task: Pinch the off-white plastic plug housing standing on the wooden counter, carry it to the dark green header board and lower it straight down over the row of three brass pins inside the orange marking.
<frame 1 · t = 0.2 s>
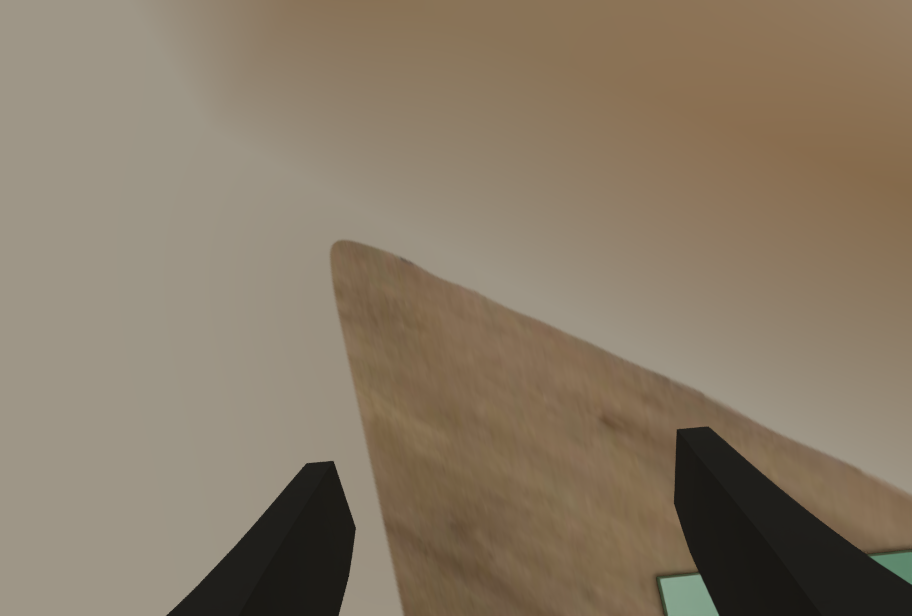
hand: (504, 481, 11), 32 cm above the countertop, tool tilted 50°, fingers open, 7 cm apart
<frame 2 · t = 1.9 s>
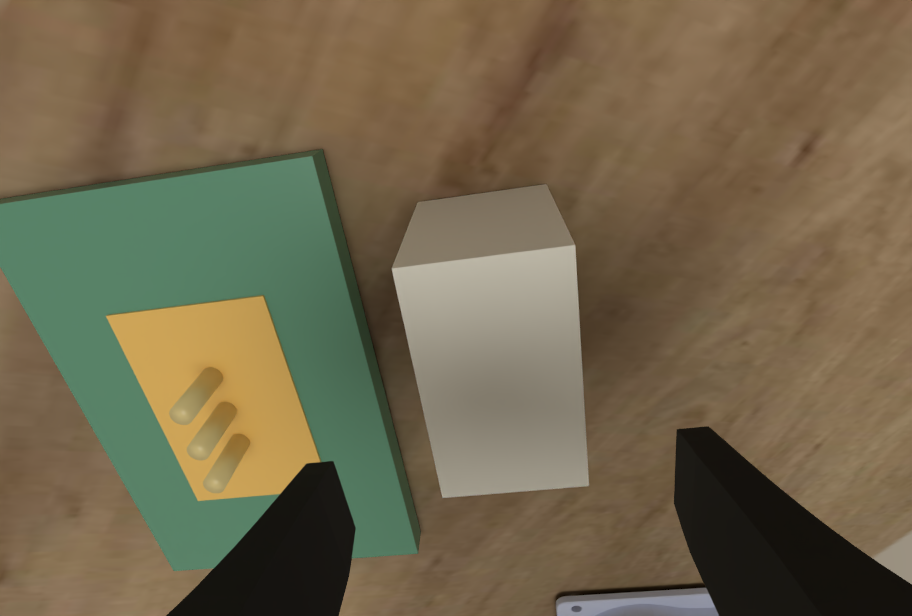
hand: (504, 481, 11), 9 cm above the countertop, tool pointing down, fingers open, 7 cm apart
plug housing: (494, 293, 20), on the countertop
header board: (240, 390, 22), on the countertop
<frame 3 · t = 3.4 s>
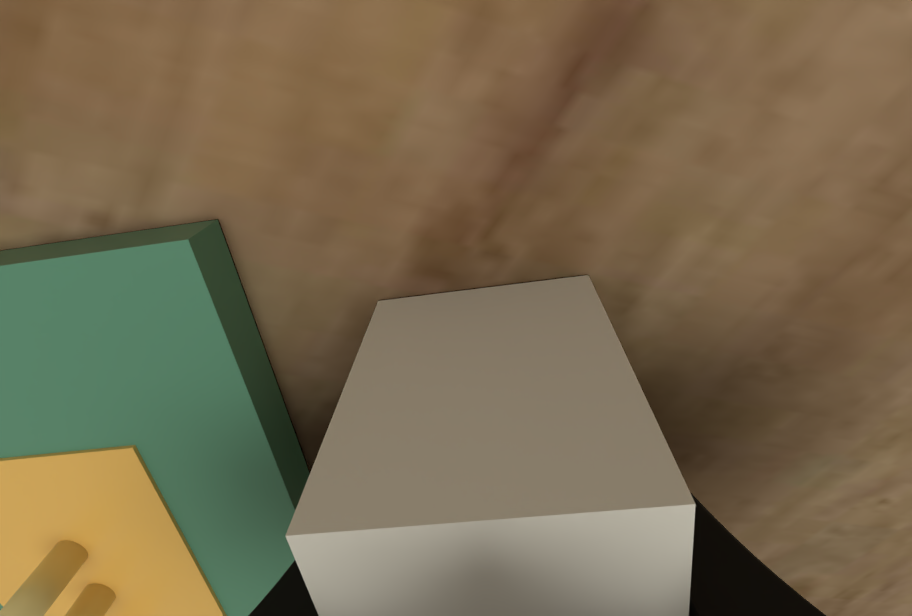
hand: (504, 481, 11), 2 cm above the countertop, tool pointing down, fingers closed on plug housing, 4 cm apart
plug housing: (502, 431, 13), on the countertop, touching gripper
header board: (129, 551, 15), on the countertop
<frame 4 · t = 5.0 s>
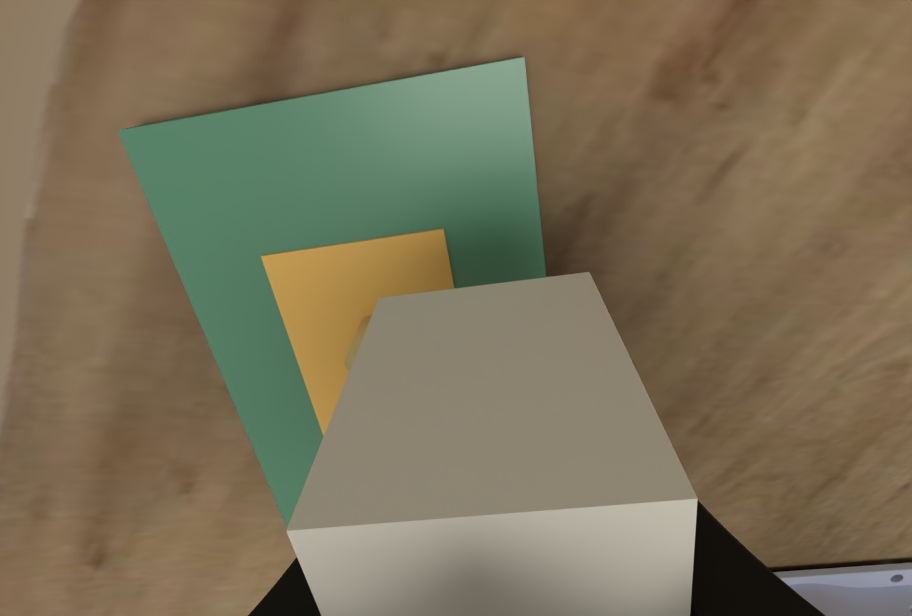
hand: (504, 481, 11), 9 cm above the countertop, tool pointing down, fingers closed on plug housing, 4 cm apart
plug housing: (502, 429, 13), point 7 cm above the countertop, touching gripper
header board: (388, 346, 20), on the countertop
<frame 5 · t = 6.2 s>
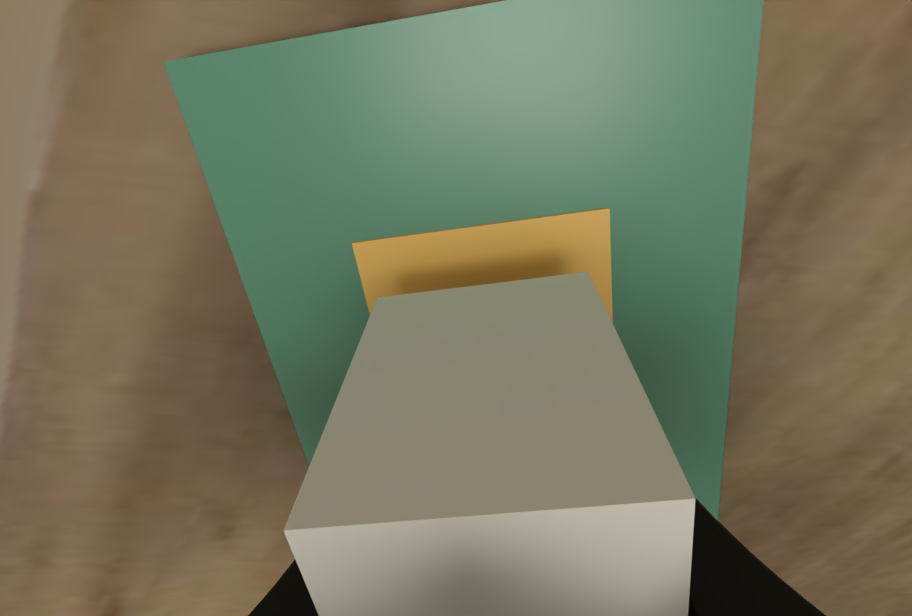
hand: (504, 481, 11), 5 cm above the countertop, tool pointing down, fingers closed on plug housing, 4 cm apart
plug housing: (501, 429, 13), point 3 cm above the countertop, touching gripper
header board: (498, 363, 15), on the countertop
when the fingers open (3 cm above the countertop, at t = 7.0 s): plug housing stays where it is, resting on header board.
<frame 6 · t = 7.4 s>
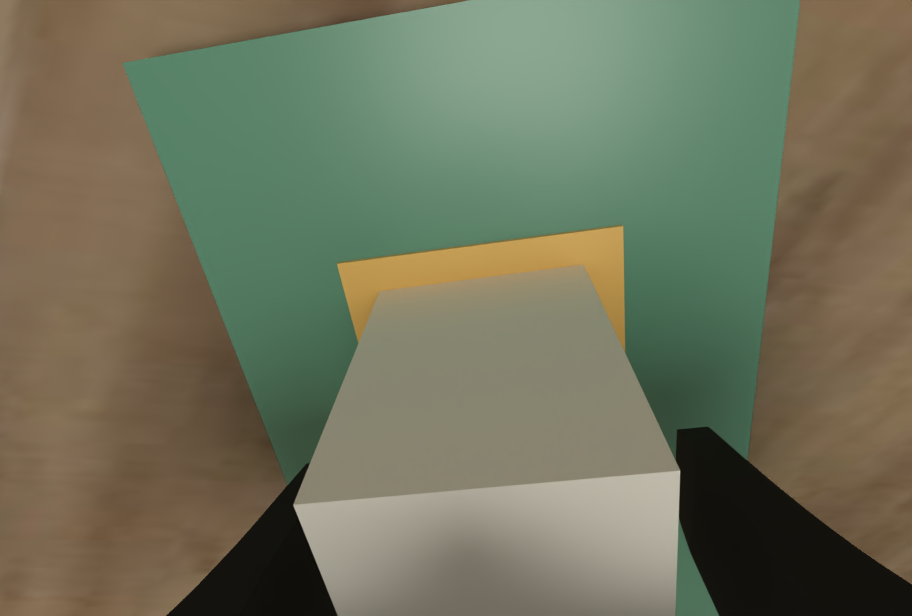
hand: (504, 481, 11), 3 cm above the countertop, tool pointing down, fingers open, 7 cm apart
plug housing: (501, 419, 13), point 1 cm above the countertop, touching header board
header board: (499, 390, 14), on the countertop
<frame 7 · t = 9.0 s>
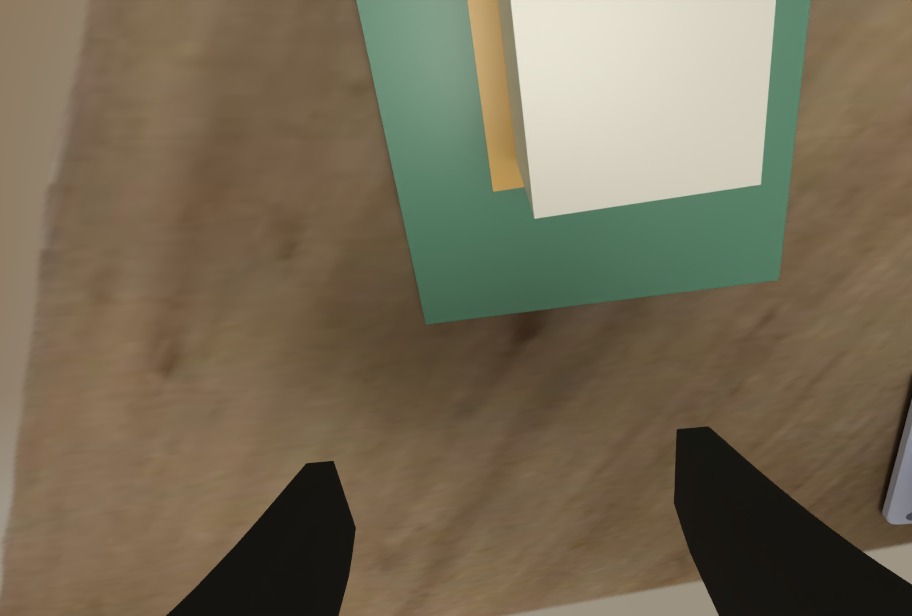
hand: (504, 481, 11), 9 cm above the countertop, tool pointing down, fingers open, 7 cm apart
plug housing: (581, 5, 14), point 1 cm above the countertop, touching header board
header board: (573, 10, 15), on the countertop
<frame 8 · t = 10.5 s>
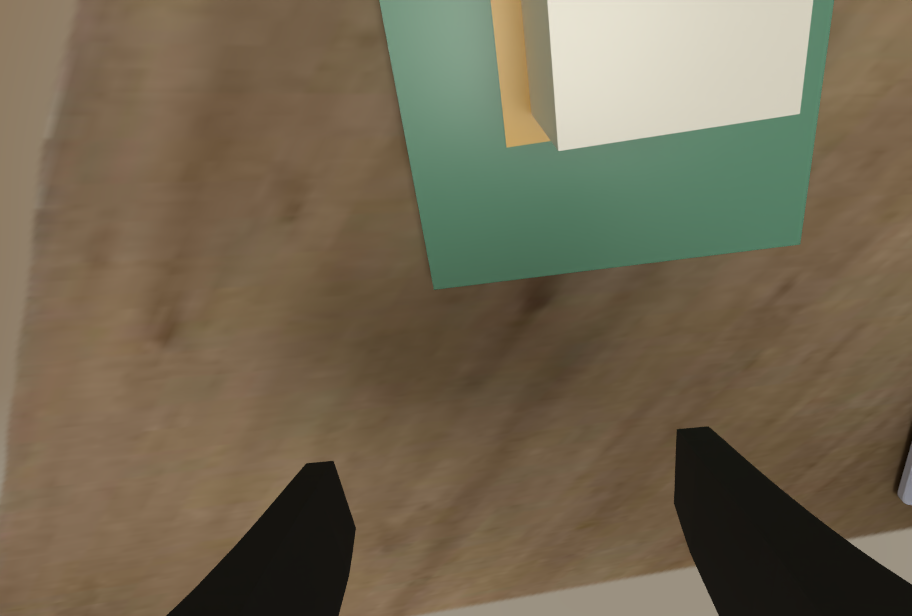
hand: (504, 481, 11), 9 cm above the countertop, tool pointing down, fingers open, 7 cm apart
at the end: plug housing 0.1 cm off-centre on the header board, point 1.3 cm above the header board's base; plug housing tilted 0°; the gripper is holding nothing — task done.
